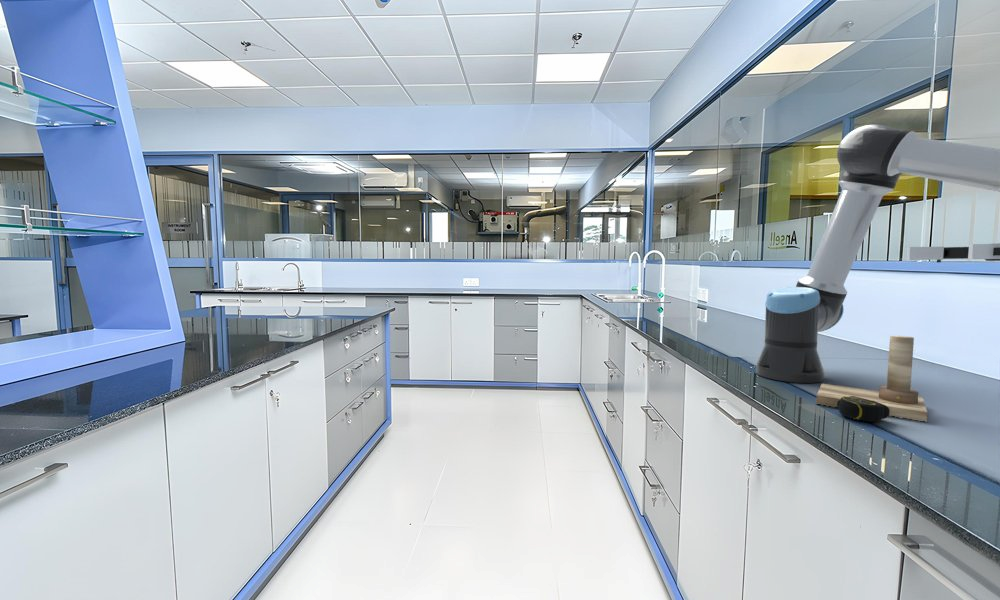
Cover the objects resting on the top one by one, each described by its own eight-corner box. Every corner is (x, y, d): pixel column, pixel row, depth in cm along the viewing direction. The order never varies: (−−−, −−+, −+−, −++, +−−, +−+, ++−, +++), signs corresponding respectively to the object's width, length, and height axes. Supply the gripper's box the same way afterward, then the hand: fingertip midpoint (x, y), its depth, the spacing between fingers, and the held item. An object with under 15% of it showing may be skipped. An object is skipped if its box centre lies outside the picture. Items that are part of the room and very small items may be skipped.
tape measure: (891, 422, 83) (892, 403, 83) (867, 427, 81) (868, 407, 81) (852, 411, 90) (853, 393, 89) (829, 415, 87) (830, 397, 87)
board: (821, 391, 103) (821, 383, 103) (921, 406, 92) (922, 397, 92) (816, 404, 94) (816, 395, 93) (926, 422, 83) (927, 412, 82)
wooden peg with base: (878, 393, 94) (882, 333, 93) (916, 398, 91) (921, 336, 90) (878, 400, 89) (882, 337, 88) (919, 406, 85) (923, 341, 84)
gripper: (1144, 272, 72) (1001, 273, 74) (990, 270, 97) (886, 270, 99) (1149, 226, 71) (1005, 228, 73) (993, 235, 96) (888, 237, 98)
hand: (936, 252), depth 86 cm, fingers open, 13 cm apart
